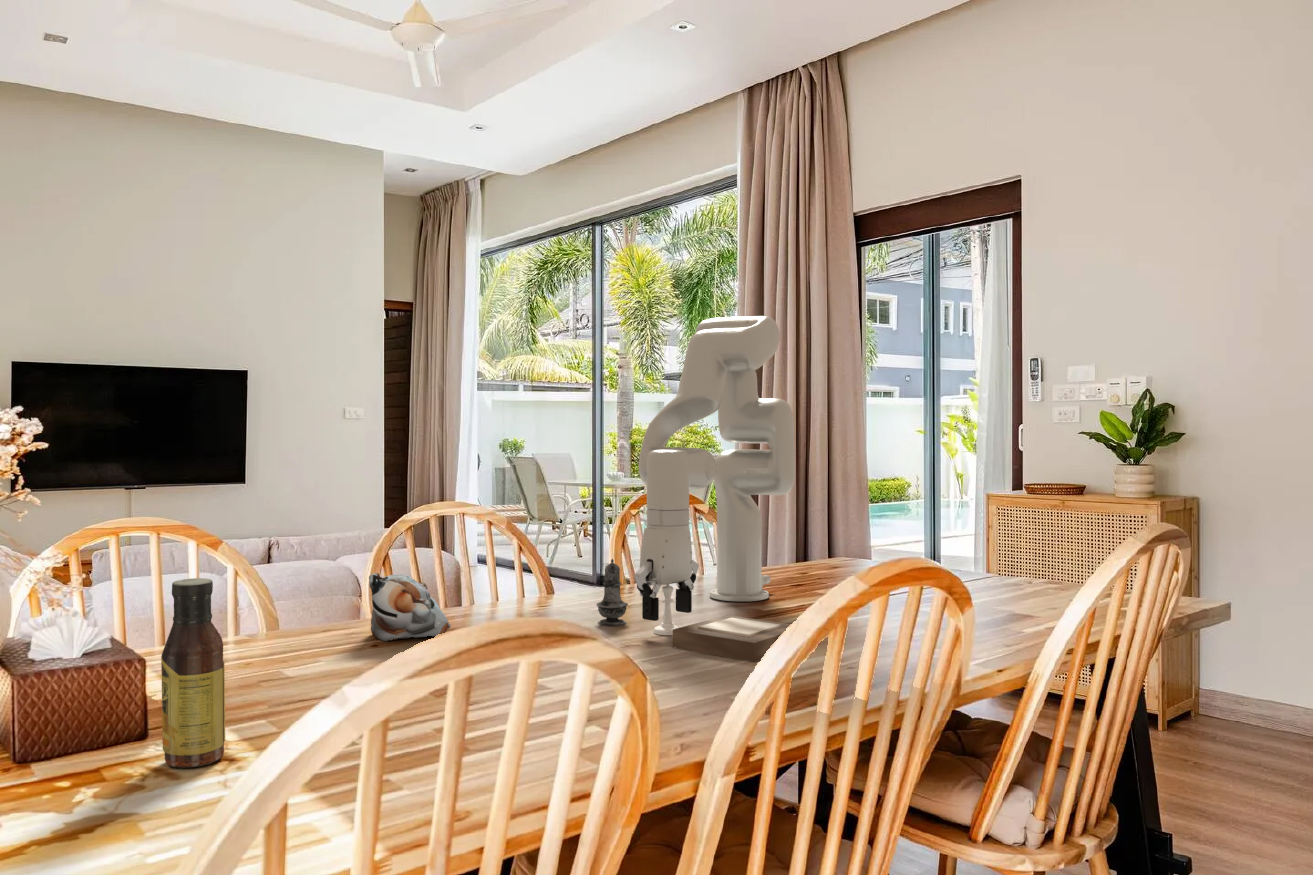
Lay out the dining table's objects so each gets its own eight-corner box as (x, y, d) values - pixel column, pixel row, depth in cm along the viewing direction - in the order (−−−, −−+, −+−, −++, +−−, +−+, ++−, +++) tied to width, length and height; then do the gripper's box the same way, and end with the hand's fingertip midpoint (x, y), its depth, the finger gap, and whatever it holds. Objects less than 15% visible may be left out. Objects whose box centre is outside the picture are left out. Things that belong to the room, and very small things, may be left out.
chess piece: (684, 630, 178) (685, 575, 178) (676, 636, 174) (676, 579, 174) (658, 628, 180) (659, 573, 180) (649, 634, 175) (650, 577, 175)
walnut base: (727, 631, 177) (727, 612, 177) (805, 644, 167) (805, 624, 167) (672, 647, 165) (672, 626, 165) (754, 661, 155) (754, 640, 155)
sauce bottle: (176, 752, 112) (175, 575, 111) (233, 750, 112) (233, 575, 112) (151, 772, 105) (150, 585, 105) (212, 771, 106) (212, 584, 105)
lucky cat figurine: (465, 633, 175) (458, 570, 168) (413, 671, 167) (403, 606, 160) (407, 600, 183) (398, 539, 176) (355, 636, 175) (343, 572, 168)
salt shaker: (629, 620, 187) (630, 556, 187) (625, 626, 182) (626, 561, 181) (598, 619, 188) (599, 556, 188) (593, 626, 182) (594, 560, 182)
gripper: (680, 514, 186) (679, 606, 186) (620, 521, 172) (619, 620, 172) (713, 517, 181) (712, 611, 181) (654, 524, 167) (653, 625, 168)
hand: (667, 615), depth 177 cm, fingers open, 9 cm apart
